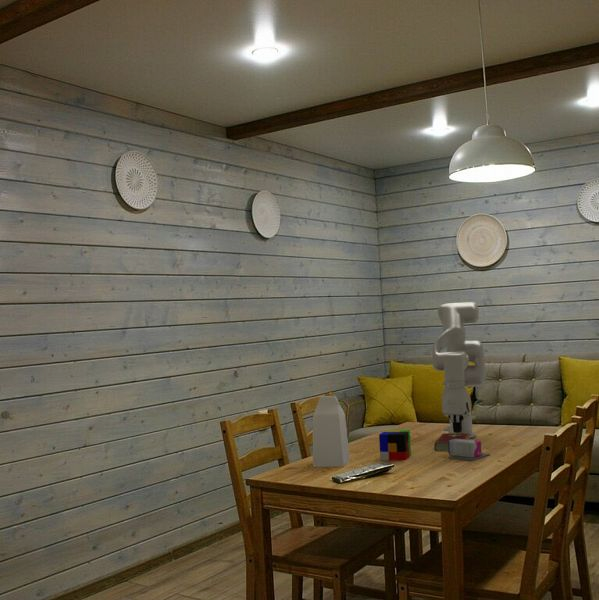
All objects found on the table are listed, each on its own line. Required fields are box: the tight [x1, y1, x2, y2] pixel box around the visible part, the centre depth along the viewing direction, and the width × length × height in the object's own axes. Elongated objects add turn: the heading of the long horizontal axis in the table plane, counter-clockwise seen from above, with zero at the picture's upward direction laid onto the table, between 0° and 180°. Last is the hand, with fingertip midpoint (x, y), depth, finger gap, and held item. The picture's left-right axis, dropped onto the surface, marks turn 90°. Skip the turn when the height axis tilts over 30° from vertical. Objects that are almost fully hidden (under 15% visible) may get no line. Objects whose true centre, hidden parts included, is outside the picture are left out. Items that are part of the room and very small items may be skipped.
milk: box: [312, 395, 351, 468], centre depth 287 cm, size 12×12×26 cm
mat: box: [448, 452, 491, 462], centre depth 284 cm, size 10×13×1 cm
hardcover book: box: [433, 432, 470, 452], centre depth 309 cm, size 12×21×4 cm, turn 160°
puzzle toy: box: [378, 429, 412, 461], centre depth 291 cm, size 10×10×10 cm
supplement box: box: [448, 438, 483, 458], centre depth 285 cm, size 6×6×12 cm
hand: (457, 432), depth 288 cm, fingers closed
